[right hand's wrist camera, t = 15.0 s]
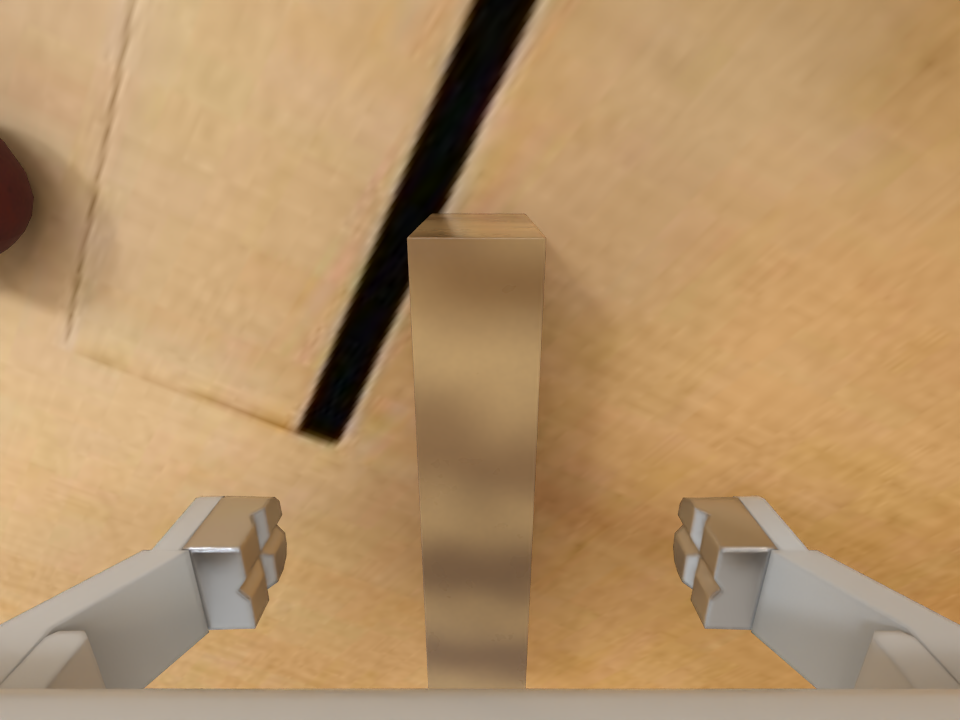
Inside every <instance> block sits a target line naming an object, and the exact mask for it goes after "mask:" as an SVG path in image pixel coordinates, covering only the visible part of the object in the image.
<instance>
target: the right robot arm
mask: <svg viewBox="0 0 960 720" xmlns="http://www.w3.org/2000/svg"><path fill="white" fill-rule="evenodd" d="M281 516H282V512H281V507H280V502H279V500H278V499H276V498H275V497H247V496H226V497H225V496H201V497H198V498H196V499H195V500H194V501H193V502H192V503H191V504H190V506H189V507H188V508H187V509H186V510H185V511H184V513H183V514H182V515H181V516H180V517H179V518H178V520H177V521H176V522H175V523H174V524H173V525H172V527H171V528H170V529H169V530H168V531H167V533H166V534H165V535H164V536H163V537H162V538H161V540H160V541H159V542H158V543H157V544H156V545H155V547H154V548H153V549H152V550H143V551H141V552H139V553H137V554H135V555H133V556H131V557H129V558H127V559H125V560H123V561H121V562H120V563H118V564H116V565H114V566H112V567H110V568H108V569H106V570H104V571H102V572H100V573H98V574H97V575H95V576H93V577H91V578H89V579H87V580H85V581H83V582H81V583H79V584H77V585H75V586H74V587H72V588H70V589H68V590H66V591H64V592H62V593H60V594H58V595H56V596H54V597H52V598H51V599H49V600H47V601H45V602H43V603H41V604H39V605H37V606H35V607H33V608H31V609H29V610H27V611H26V612H24V613H22V614H20V615H18V616H16V617H14V618H12V619H10V620H8V621H6V622H4V623H3V624H1V625H0V720H960V625H959V624H957V623H955V622H953V621H951V620H949V619H947V618H946V617H944V616H942V615H940V614H938V613H936V612H934V611H932V610H930V609H928V608H926V607H925V606H923V605H921V604H919V603H917V602H915V601H913V600H911V599H909V598H907V597H905V596H903V595H902V594H900V593H898V592H896V591H894V590H892V589H890V588H888V587H886V586H884V585H882V584H881V583H879V582H877V581H875V580H873V579H871V578H869V577H867V576H865V575H863V574H861V573H859V572H858V571H856V570H854V569H852V568H850V567H848V566H846V565H844V564H842V563H840V562H838V561H837V560H835V559H833V558H831V557H829V556H827V555H825V554H823V553H821V552H819V551H817V550H808V549H807V548H806V547H805V545H804V544H803V543H802V542H801V541H800V540H799V538H798V537H797V536H796V535H795V534H794V533H793V531H792V530H791V529H790V528H789V527H788V526H787V524H786V523H785V522H784V521H783V520H782V519H781V517H780V516H779V515H778V514H777V513H776V512H775V510H774V509H773V508H772V507H771V506H770V505H769V503H768V502H767V501H766V500H765V499H764V498H762V497H760V496H733V497H699V498H683V499H682V501H681V503H680V506H679V511H678V516H679V518H680V519H681V521H682V523H683V525H682V526H681V527H680V528H679V529H678V530H677V531H676V532H675V536H674V544H673V551H674V561H675V565H676V568H677V572H678V574H679V576H680V578H681V580H682V582H683V583H685V584H686V585H687V586H689V587H690V588H691V589H693V590H692V596H691V601H692V603H693V605H694V607H695V609H696V611H697V613H698V615H699V618H700V620H701V622H702V624H703V626H704V628H705V629H740V630H751V632H752V633H753V634H754V635H755V636H756V637H758V638H759V639H760V640H761V641H762V642H763V643H764V644H766V645H767V646H768V647H769V648H770V649H771V650H773V651H774V652H775V653H776V654H777V655H778V656H780V657H781V658H782V659H783V660H784V661H785V662H786V663H788V664H789V665H790V666H791V667H792V668H793V669H795V670H796V671H797V672H798V673H799V674H800V675H802V676H803V677H804V678H805V679H806V680H807V681H809V682H810V683H811V684H812V685H813V686H814V687H815V688H817V689H144V688H145V687H146V686H147V685H148V684H149V683H150V682H152V681H153V680H154V679H155V678H156V677H157V676H159V675H160V674H161V673H162V672H163V671H164V670H166V669H167V668H168V667H169V666H170V665H171V664H173V663H174V662H175V661H176V660H177V659H178V658H180V657H181V656H182V655H183V654H184V653H185V652H186V651H188V650H189V649H190V648H191V647H192V646H193V645H195V644H196V643H197V642H198V641H199V640H200V639H202V638H203V637H204V636H205V635H206V634H207V633H209V631H208V630H219V629H253V628H256V626H257V624H258V622H259V620H260V618H261V616H262V614H263V611H264V609H265V607H266V605H267V603H268V601H269V596H268V590H267V589H269V588H270V587H271V586H273V585H274V584H275V583H277V582H278V580H279V578H280V576H281V574H282V572H283V569H284V564H285V560H286V553H287V542H286V536H285V532H284V531H283V530H282V529H281V528H280V527H279V526H278V525H277V523H278V521H279V519H280V518H281Z"/></svg>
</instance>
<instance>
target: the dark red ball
mask: <svg viewBox="0 0 960 720" xmlns="http://www.w3.org/2000/svg"><path fill="white" fill-rule="evenodd" d="M33 198H34V197H33V194H32V191H31V188H30V184H29V181H28V178H27V175H26V172H25V171H24V169H23V168H22V167H21V165H20V164H19V162H18V161H17V160H16V158H15V157H14V155H13V154H12V153H11V151H10V150H9V148H8V147H7V145H6V144H5V143H4V142H3V141H2V140H1V139H0V254H1V253H2V252H4V251H5V250H7V249H8V248H9V247H10V246H11V245H13V244H14V243H15V242H16V241H17V239H18V238H19V237H20V236H21V235H22V233H23V232H24V231H25V229H26V227H27V225H28V223H29V220H30V218H31V216H32V208H33Z"/></svg>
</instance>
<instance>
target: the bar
mask: <svg viewBox="0 0 960 720" xmlns="http://www.w3.org/2000/svg"><path fill="white" fill-rule="evenodd" d="M407 245H408V266H409V287H410V308H411V329H412V351H413V372H414V393H415V414H416V435H417V457H418V478H419V499H420V520H421V541H422V563H423V584H424V605H425V626H426V647H427V668H428V689H526V667H527V645H528V624H529V602H530V580H531V558H532V537H533V515H534V493H535V471H536V449H537V428H538V406H539V384H540V362H541V341H542V319H543V297H544V275H545V254H546V237H545V236H544V235H543V234H542V233H541V232H540V230H539V229H538V228H537V227H536V226H535V225H534V224H533V222H532V221H531V220H530V219H529V218H528V217H527V215H526V214H431V215H430V216H429V217H428V218H427V219H426V220H425V221H424V222H423V223H422V224H421V225H420V226H419V227H418V228H417V229H416V230H415V231H414V232H413V233H412V234H411V235H410V236H409V237H408V238H407Z"/></svg>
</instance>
